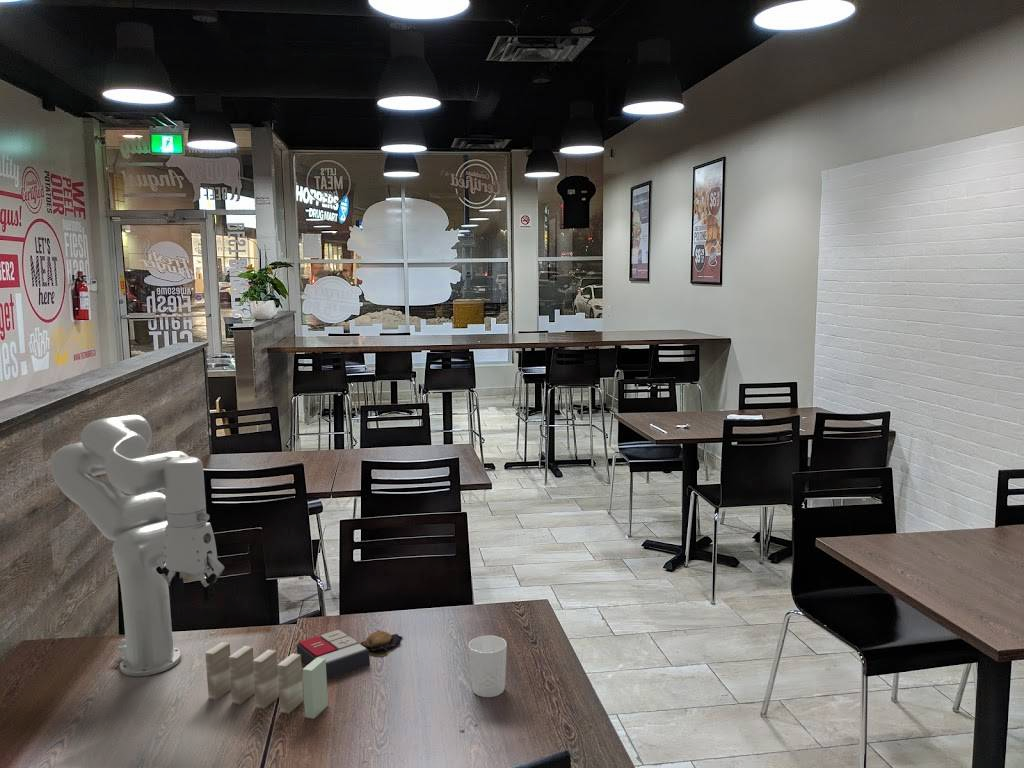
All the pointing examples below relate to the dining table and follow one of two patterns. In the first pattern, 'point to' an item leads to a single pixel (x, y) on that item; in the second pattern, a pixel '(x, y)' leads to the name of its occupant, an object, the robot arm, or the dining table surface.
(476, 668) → the white cup
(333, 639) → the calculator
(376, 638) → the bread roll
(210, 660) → the domino
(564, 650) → the dining table surface
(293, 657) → the domino
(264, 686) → the domino
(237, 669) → the domino
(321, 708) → the domino
